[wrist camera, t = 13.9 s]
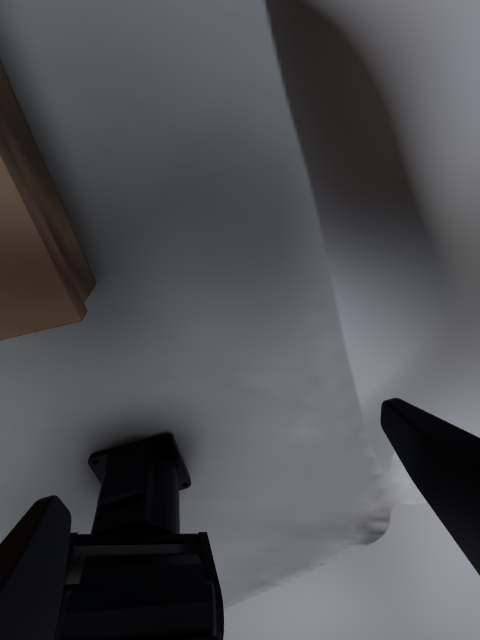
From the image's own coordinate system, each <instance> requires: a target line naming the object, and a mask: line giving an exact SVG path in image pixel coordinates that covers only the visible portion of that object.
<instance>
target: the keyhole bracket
mask: <svg viewBox="0 0 480 640" xmlns="http://www.w3.org/2000/svg"><path fill="white" fill-rule="evenodd" d="M95 285H96V282H95V279H94V277H93V275H92V273H91V270H90V268H89V266H88V263H87V261H86V259H85V256H84V254H83V252H82V250H81V247H80V245H79V243H78V240H77V238H76V236H75V233H74V231H73V229H72V226H71V224H70V222H69V220H68V217H67V215H66V213H65V210H64V208H63V206H62V203H61V201H60V199H59V197H58V194H57V192H56V190H55V187H54V185H53V183H52V180H51V178H50V176H49V173H48V171H47V169H46V167H45V164H44V162H43V160H42V157H41V155H40V153H39V150H38V148H37V146H36V144H35V141H34V139H33V137H32V134H31V132H30V130H29V127H28V125H27V123H26V121H25V118H24V116H23V114H22V111H21V109H20V107H19V104H18V102H17V100H16V97H15V95H14V93H13V91H12V88H11V86H10V84H9V81H8V79H7V77H6V74H5V72H4V70H3V68H2V65H1V63H0V340H3V339H8V338H12V337H16V336H20V335H24V334H29V333H33V332H37V331H41V330H46V329H50V328H54V327H58V326H62V325H67V324H71V323H75V322H79V321H82V320H83V318H84V316H85V315H86V313H87V309H86V307H85V305H84V302H85V300H86V299H87V297H88V296H89V294H90V293H91V291H92V290H93V288H94V287H95Z"/></svg>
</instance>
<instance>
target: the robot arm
mask: <svg viewBox="0 0 480 640" xmlns="http://www.w3.org/2000/svg"><path fill="white" fill-rule="evenodd" d="M381 426H382V429H383V431H384V432H385V434H386V435H387V437H388V439H389V441H390V443H391V444H392V446H393V448H394V450H395V451H396V453H397V455H398V457H399V458H400V460H401V462H402V464H403V465H404V467H405V469H406V471H407V472H408V474H409V476H410V477H411V479H412V480H413V482H414V483H415V485H416V486H417V488H418V489H419V491H420V492H421V494H422V495H423V496H424V498H425V499H426V501H427V502H428V503H429V505H430V506H431V508H432V509H433V510H434V512H435V513H436V515H437V516H438V517H439V519H440V520H441V522H442V523H443V525H444V526H445V527H446V529H447V530H448V532H449V533H450V534H451V536H452V537H453V539H454V540H455V541H456V543H457V544H458V545H459V547H460V548H461V550H462V551H463V552H464V554H465V555H466V557H467V558H468V560H469V561H470V562H471V564H472V565H473V567H474V568H475V569H476V571H477V572H478V573H479V575H480V438H479V437H477V436H475V435H473V434H471V433H468V432H467V431H464V430H462V429H460V428H458V427H456V426H454V425H452V424H450V423H448V422H446V421H444V420H442V419H440V418H438V417H436V416H434V415H432V414H430V413H428V412H426V411H424V410H421V409H420V408H417V407H415V406H414V405H411V404H409V403H407V402H405V401H403V400H401V399H399V398H392V399H389V400H385V401H383V403H382V407H381ZM88 464H89V466H90V467H91V469H92V471H93V472H94V474H95V475H96V477H97V478H98V480H99V481H100V483H101V488H100V492H99V497H98V501H97V509H96V513H95V518H94V522H93V526H92V531H91V534H78V533H70V529H71V514H70V512H69V510H68V509H67V508H66V506H65V505H64V504H63V503H62V501H61V500H60V499H59V498H58V497H57V496H55V495H52V496H48V497H45V498H41V499H39V500H37V501H36V502H35V503H34V504H33V505H32V507H31V508H30V509H29V510H28V511H27V512H26V514H25V515H24V516H23V517H22V518H21V520H20V521H19V522H18V523H17V524H16V526H15V527H14V528H13V529H12V530H11V532H10V533H9V534H8V535H7V536H6V538H5V539H4V540H3V541H2V542H1V544H0V640H223V635H224V611H223V600H222V594H221V589H220V585H219V580H218V576H217V572H216V568H215V564H214V560H213V556H212V551H211V547H210V543H209V539H208V535H207V532H199V533H198V534H180V518H179V490H182V489H186V488H188V487H190V485H191V479H190V476H189V474H188V471H187V469H186V466H185V464H184V462H183V459H182V457H181V454H180V452H179V449H178V447H177V444H176V442H175V440H174V437H173V435H171V434H168V433H167V434H163V435H159V436H155V437H152V438H148V439H144V440H141V441H137V442H134V443H130V444H126V445H123V446H119V447H116V448H112V449H108V450H105V451H101V452H98V453H94V454H92V455H90V457H89V460H88Z"/></svg>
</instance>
